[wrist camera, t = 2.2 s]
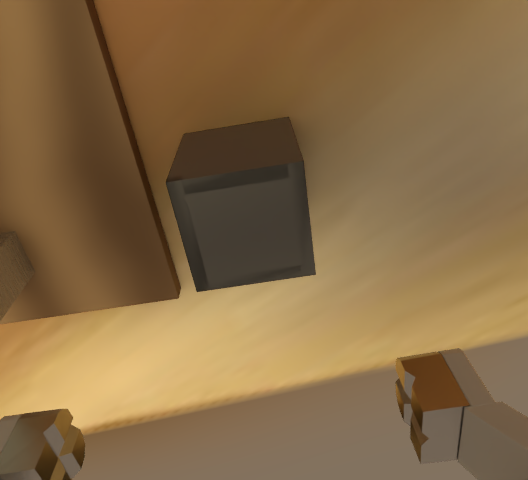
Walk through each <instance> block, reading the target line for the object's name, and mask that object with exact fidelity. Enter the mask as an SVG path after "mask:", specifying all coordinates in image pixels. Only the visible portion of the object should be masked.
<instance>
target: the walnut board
mask: <svg viewBox="0 0 528 480" xmlns="http://www.w3.org/2000/svg"><path fill="white" fill-rule="evenodd" d="M10 231H15V232H16V234H17V236H18V238H19V240H20V242H21V244H22V246H23V248H24V250H25V252H26V254H27V256H28V258H29V260H30V262H31V264H32V266H33V268H34V270H35V273H34V274H33V276H32V277H31V278H30V280H29V281H28V283H27V284H26V286H25V287H24V288H23V290H22V291H21V293H20V294H19V296H18V297H17V298H16V300H15V301H14V303H13V304H12V306H11V307H10V308H9V310H8V311H7V313H6V314H5V316H4V317H3V318H2V320H1V321H0V324H6V323H13V322H20V321H27V320H33V319H40V318H47V317H54V316H61V315H68V314H75V313H82V312H88V311H95V310H102V309H109V308H116V307H123V306H130V305H136V304H143V303H150V302H157V301H164V300H171V299H178V298H179V294H180V289H181V287H180V284H179V280H178V277H177V274H176V271H175V267H174V264H173V261H172V258H171V254H170V251H169V248H168V245H167V241H166V238H165V235H164V231H163V228H162V225H161V222H160V218H159V215H158V212H157V209H156V205H155V202H154V199H153V196H152V192H151V189H150V186H149V182H148V179H147V176H146V173H145V169H144V166H143V163H142V160H141V156H140V153H139V150H138V147H137V143H136V140H135V137H134V133H133V130H132V127H131V124H130V120H129V117H128V114H127V111H126V107H125V104H124V101H123V98H122V94H121V91H120V88H119V84H118V81H117V78H116V75H115V71H114V68H113V65H112V62H111V58H110V55H109V52H108V49H107V45H106V42H105V39H104V35H103V32H102V29H101V26H100V22H99V19H98V16H97V13H96V9H95V6H94V3H93V0H0V233H3V232H10Z"/></svg>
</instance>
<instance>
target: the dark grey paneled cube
mask: <svg viewBox="0 0 528 480" xmlns="http://www.w3.org/2000/svg"><path fill="white" fill-rule="evenodd" d="M166 185H167V189H168V192H169V196H170V199H171V203H172V206H173V210H174V213H175V217H176V220H177V224H178V227H179V231H180V235H181V238H182V242H183V245H184V249H185V252H186V256H187V259H188V263H189V266H190V270H191V273H192V277H193V280H194V284H195V287H196V291H197V292H200V291H207V290H214V289H221V288H228V287H234V286H241V285H248V284H255V283H262V282H269V281H276V280H282V279H289V278H296V277H303V276H310V275H316V272H315V263H314V254H313V244H312V235H311V226H310V217H309V207H308V198H307V189H306V179H305V170H304V161H303V158H302V155H301V152H300V149H299V146H298V143H297V140H296V137H295V134H294V131H293V128H292V125H291V122H290V119H289V117H286V118H280V119H273V120H267V121H261V122H255V123H248V124H242V125H236V126H230V127H223V128H217V129H211V130H205V131H198V132H192V133H186V134H184V135H183V137H182V140H181V143H180V145H179V148H178V151H177V153H176V156H175V159H174V162H173V164H172V167H171V170H170V172H169V175H168V178H167V180H166Z"/></svg>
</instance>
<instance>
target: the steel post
mask: <svg viewBox="0 0 528 480" xmlns="http://www.w3.org/2000/svg"><path fill="white" fill-rule="evenodd" d="M34 273H35V270H34V268H33V266H32V264H31V262H30V260H29V258H28V256H27V254H26V252H25V250H24V248H23V246H22V244H21V242H20V240H19V238H18V236H17V234H16V232H15V231H10V232H3V233H0V321H1V320H2V318H3V317H4V316H5V314H6V313H7V311H8V310H9V308H10V307H11V306H12V304H13V303H14V301H15V300H16V298H17V297H18V296H19V294H20V293H21V291H22V290H23V288H24V287H25V286H26V284H27V283H28V281H29V280H30V278H31V277H32V276H33V274H34Z"/></svg>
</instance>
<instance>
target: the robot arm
mask: <svg viewBox="0 0 528 480" xmlns="http://www.w3.org/2000/svg"><path fill="white" fill-rule="evenodd" d="M396 372H397V374H398V377H399V379H398V380H397V381H396V383H395V384H396V396H397V402H398V406H399V409H400V413H401V415H402V418H403V420H404V422H405V423H407V424H408V425H409V426H410V439H411V441H412V443H413V446H414V449H415V451H416V454H417V456H418V459H419V461H420V464H424V463H434V462H442V461H451V460H458V462H459V463H460V464H461V465H462V466H463V467H464V468H465V469H467V470H468V471H469V472H470V473H471V474H472V475H473V476H474V477H475V478H477V479H478V480H528V417H526V416H525V415H523V414H522V413H520V412H518V411H516V410H515V409H513V408H512V407H510V406H508V405H507V404H505V403H503V402H495V401H494V399H493V398H492V396H491V394H490V393H489V391H488V390H487V388H486V387H485V385H484V383H483V382H482V380H481V379H480V377H479V376H478V374H477V373H476V371H475V369H474V368H473V366H472V365H471V363H470V362H469V360H468V358H467V357H466V355H465V353H464V352H463V351H462V350H461V349H459V348H457V349H451V350H444V351H438V352H431V353H424V354H418V355H412V356H406V357H400V358H397V359H396ZM72 420H73V416H72V415H71V413H70V412H69V410H68V409H57V410H49V411H41V412H33V413H25V414H19V415H12V416H4V417H3V418H2V419H1V420H0V480H72V478H73V477H74V476H75V475H76V474H77V473H78V472H79V471H80V470H81V468H82V465H83V461H84V457H85V442H84V437H83V434H82V433H81V431H80V429H78V428H76V427H75V426H73V425H71V422H72Z"/></svg>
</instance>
